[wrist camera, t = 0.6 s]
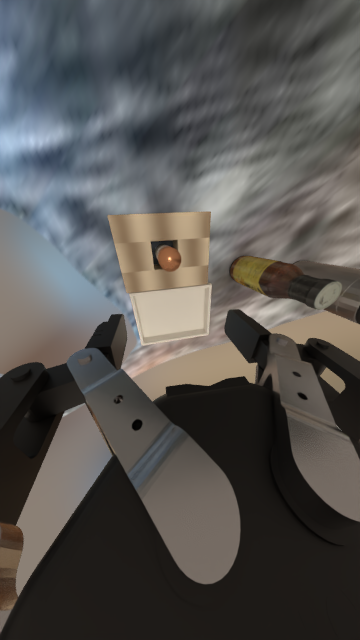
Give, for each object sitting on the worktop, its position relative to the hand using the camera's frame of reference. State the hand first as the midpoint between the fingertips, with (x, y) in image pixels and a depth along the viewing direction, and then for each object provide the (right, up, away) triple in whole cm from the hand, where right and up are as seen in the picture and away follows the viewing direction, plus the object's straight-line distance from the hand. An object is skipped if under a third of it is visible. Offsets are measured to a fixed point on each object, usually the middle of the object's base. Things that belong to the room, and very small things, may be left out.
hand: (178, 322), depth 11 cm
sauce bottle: (+15, +13, +25) cm, 32 cm away
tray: (-2, +3, +27) cm, 27 cm away
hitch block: (-4, +14, +19) cm, 24 cm away
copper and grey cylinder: (-4, +14, +19) cm, 24 cm away
